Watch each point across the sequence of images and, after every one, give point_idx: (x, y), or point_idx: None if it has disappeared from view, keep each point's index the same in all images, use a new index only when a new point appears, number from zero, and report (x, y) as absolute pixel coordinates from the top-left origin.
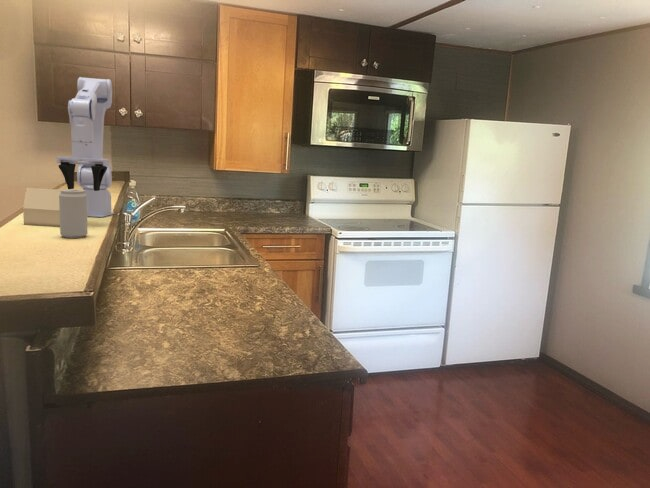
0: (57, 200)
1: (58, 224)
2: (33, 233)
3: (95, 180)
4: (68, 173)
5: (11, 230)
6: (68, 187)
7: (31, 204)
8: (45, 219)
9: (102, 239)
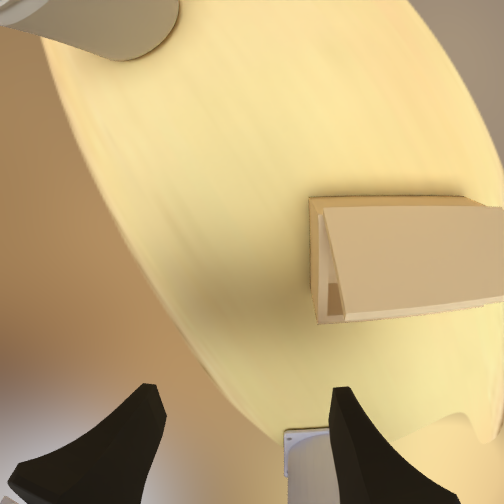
0: (362, 246)
1: (326, 198)
2: (313, 8)
3: (106, 426)
4: (357, 482)
5: (425, 49)
6: (346, 393)
7: (484, 220)
8: (392, 201)
9: (44, 40)
